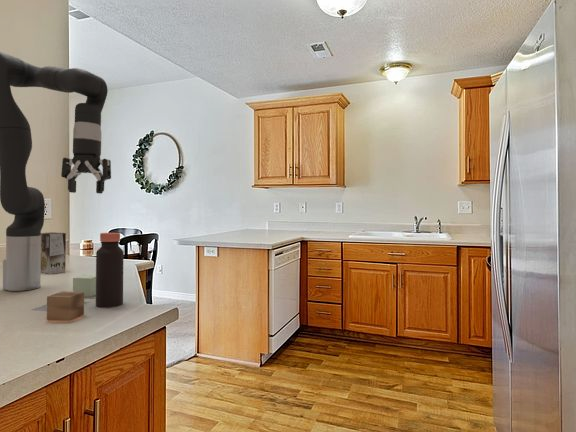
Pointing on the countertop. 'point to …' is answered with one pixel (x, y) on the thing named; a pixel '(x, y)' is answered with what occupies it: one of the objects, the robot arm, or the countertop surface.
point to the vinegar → (109, 271)
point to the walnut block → (65, 305)
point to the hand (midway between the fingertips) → (85, 192)
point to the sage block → (85, 285)
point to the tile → (44, 307)
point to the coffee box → (53, 252)
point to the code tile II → (90, 297)
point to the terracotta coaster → (65, 321)
